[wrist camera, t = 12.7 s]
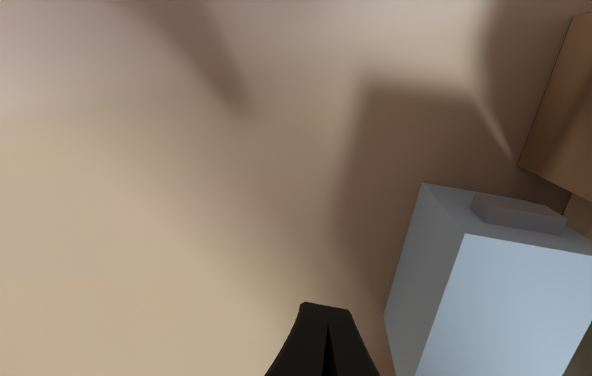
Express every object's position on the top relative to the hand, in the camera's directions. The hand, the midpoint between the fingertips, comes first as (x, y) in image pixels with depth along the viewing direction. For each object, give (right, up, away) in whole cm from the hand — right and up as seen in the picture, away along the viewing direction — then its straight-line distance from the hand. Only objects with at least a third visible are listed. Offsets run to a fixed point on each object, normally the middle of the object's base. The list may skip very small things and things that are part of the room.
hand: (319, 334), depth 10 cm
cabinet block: (+6, +1, +6) cm, 9 cm away
